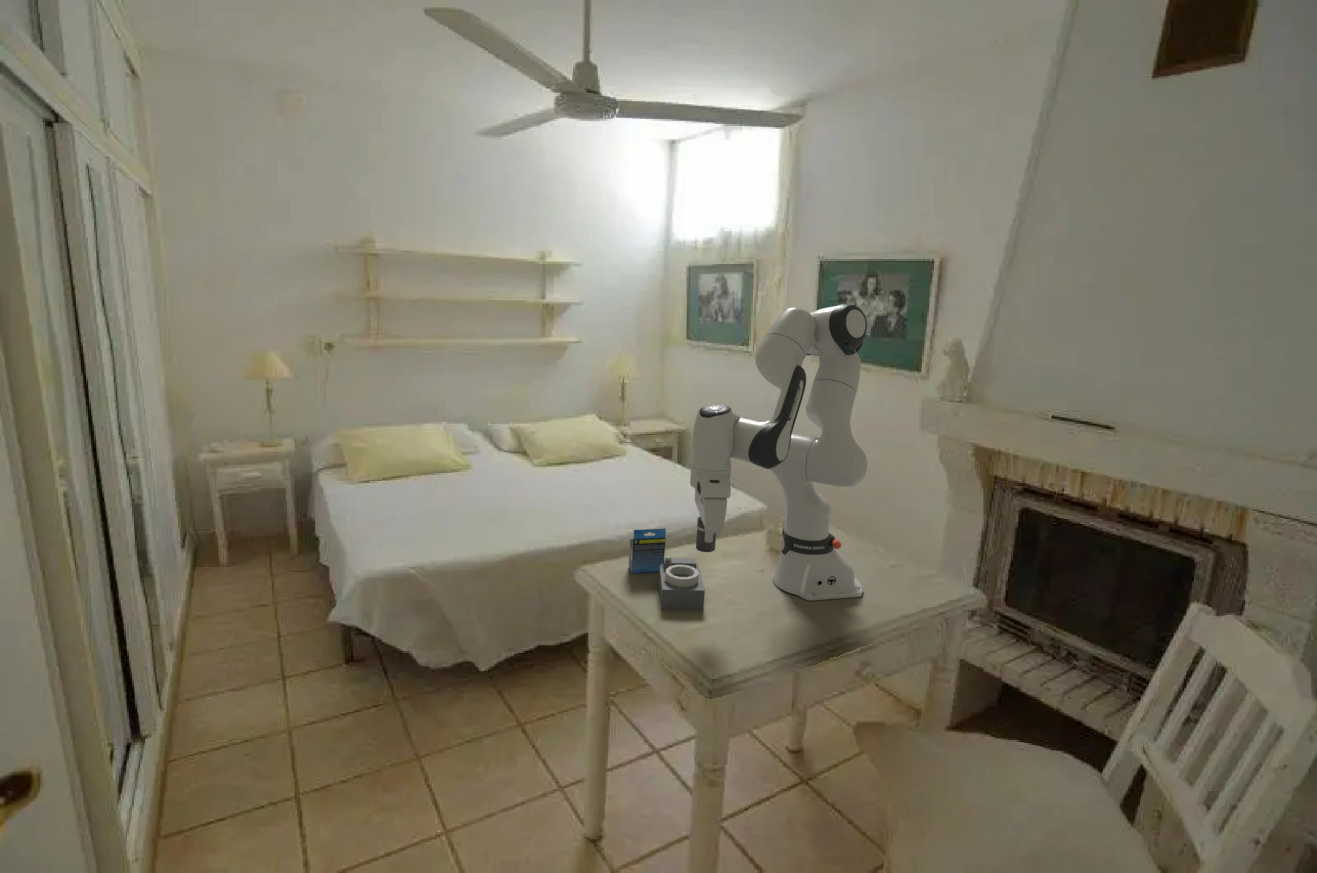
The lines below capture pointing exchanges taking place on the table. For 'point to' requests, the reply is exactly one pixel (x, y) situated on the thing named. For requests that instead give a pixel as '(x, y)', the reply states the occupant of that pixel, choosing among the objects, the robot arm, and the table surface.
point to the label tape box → (647, 550)
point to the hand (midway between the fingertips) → (706, 536)
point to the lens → (700, 541)
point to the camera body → (681, 584)
